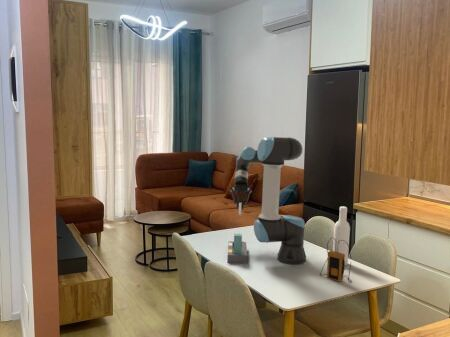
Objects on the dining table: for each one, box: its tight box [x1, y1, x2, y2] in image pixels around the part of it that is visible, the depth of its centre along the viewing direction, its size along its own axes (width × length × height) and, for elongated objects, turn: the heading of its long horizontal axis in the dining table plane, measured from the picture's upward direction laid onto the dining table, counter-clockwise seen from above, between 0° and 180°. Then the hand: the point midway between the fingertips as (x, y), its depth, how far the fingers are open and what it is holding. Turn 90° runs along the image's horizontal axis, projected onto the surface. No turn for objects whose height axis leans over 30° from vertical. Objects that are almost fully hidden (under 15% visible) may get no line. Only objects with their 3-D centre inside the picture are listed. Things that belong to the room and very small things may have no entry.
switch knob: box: [233, 233, 243, 255], centre depth 231 cm, size 5×4×11 cm
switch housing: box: [226, 240, 248, 264], centre depth 238 cm, size 24×10×4 cm, turn 178°
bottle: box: [332, 206, 351, 266], centre depth 229 cm, size 8×8×30 cm
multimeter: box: [319, 237, 352, 283], centre depth 209 cm, size 15×10×20 cm
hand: (239, 213), depth 247 cm, fingers closed
